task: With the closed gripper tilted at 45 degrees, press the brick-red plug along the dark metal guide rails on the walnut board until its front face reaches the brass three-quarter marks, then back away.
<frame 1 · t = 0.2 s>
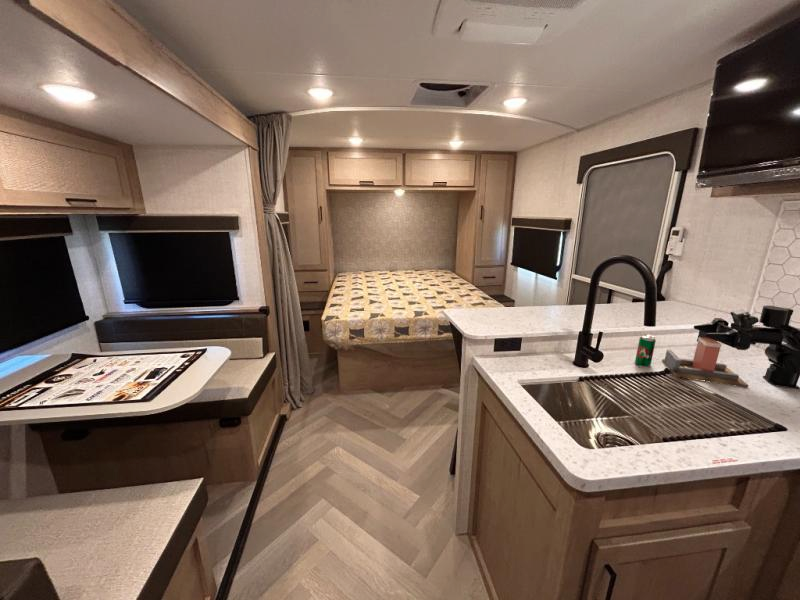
hand: (699, 330, 115), 16 cm above the worktop, tool horizontal, fingers open, 9 cm apart
red plug: (705, 355, 116), point 7 cm above the worktop, slide at 0.0 cm
guide rails: (700, 364, 117), on the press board, point 4 cm above the worktop
soda can: (642, 364, 126), on the worktop
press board: (701, 373, 118), on the worktop
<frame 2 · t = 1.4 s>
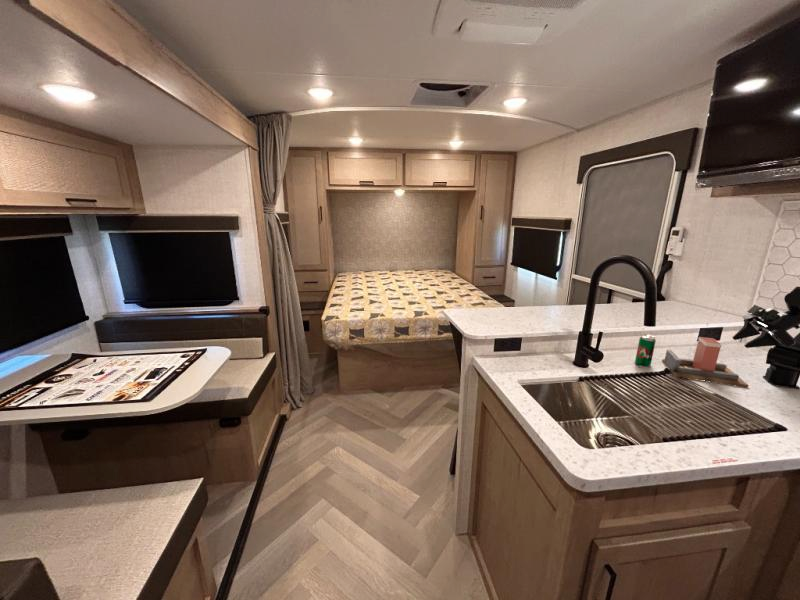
hand: (739, 342, 111), 14 cm above the worktop, tool tilted 45°, fingers open, 7 cm apart
nothing on the worktop moved.
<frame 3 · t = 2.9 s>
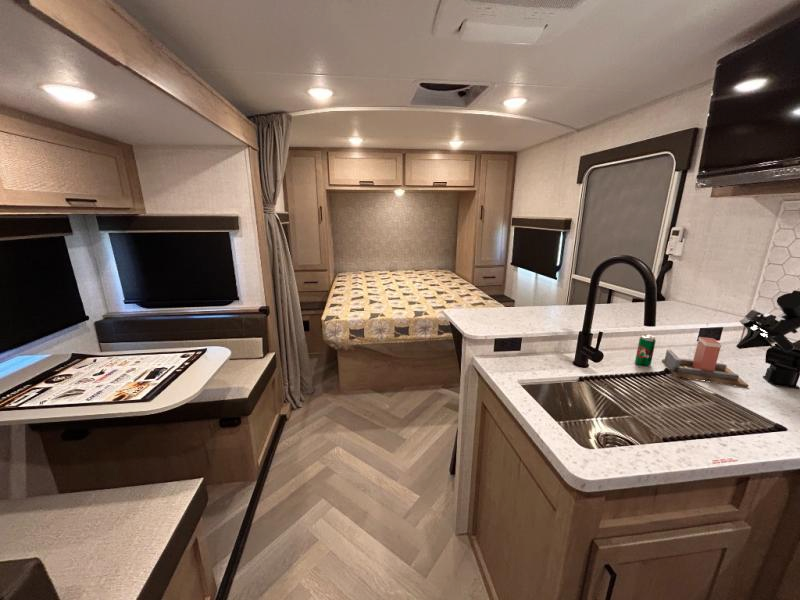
hand: (737, 347, 111), 12 cm above the worktop, tool tilted 45°, fingers closed
nothing on the worktop moved.
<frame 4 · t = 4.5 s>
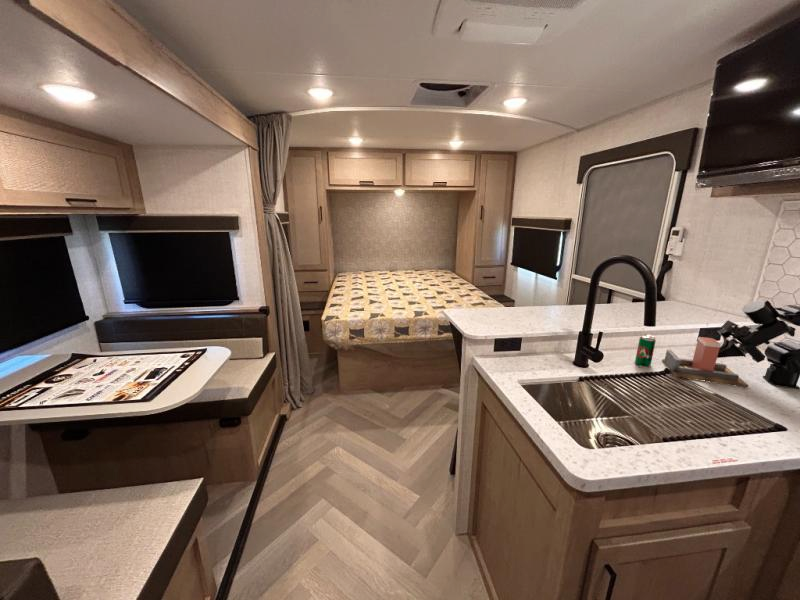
hand: (713, 356, 115), 7 cm above the worktop, tool tilted 45°, fingers closed, pressing on red plug
red plug: (705, 355, 116), point 7 cm above the worktop, slide at 0.2 cm, touching gripper
everything else where it was.
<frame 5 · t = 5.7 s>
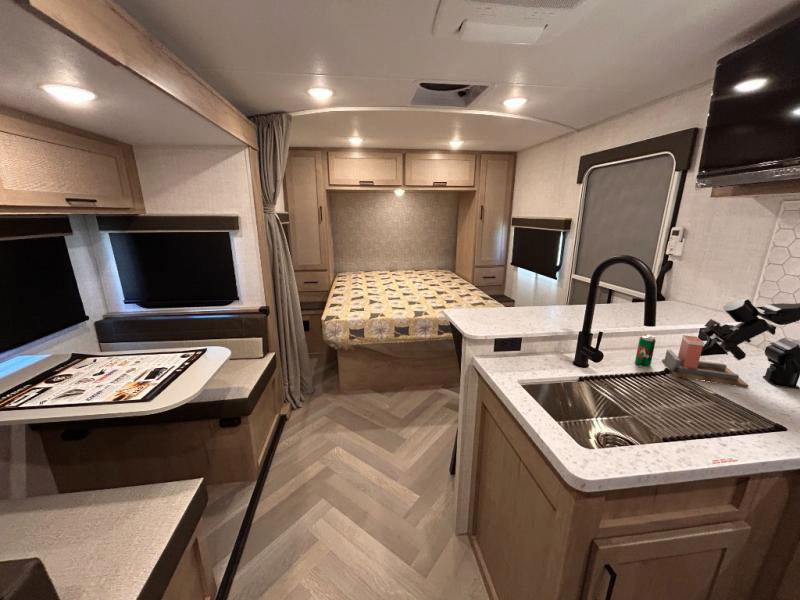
hand: (697, 354, 117), 7 cm above the worktop, tool tilted 45°, fingers closed, pressing on red plug
red plug: (689, 353, 118), point 7 cm above the worktop, slide at 4.8 cm, touching gripper
everything else where it was.
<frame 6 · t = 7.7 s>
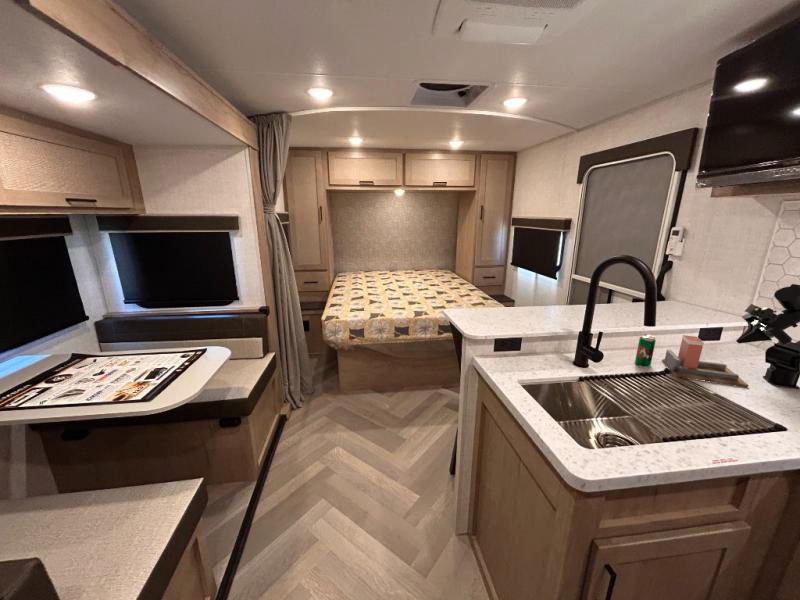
hand: (737, 342, 112), 14 cm above the worktop, tool tilted 45°, fingers closed
red plug: (689, 353, 118), point 7 cm above the worktop, slide at 4.8 cm
everything else where it was.
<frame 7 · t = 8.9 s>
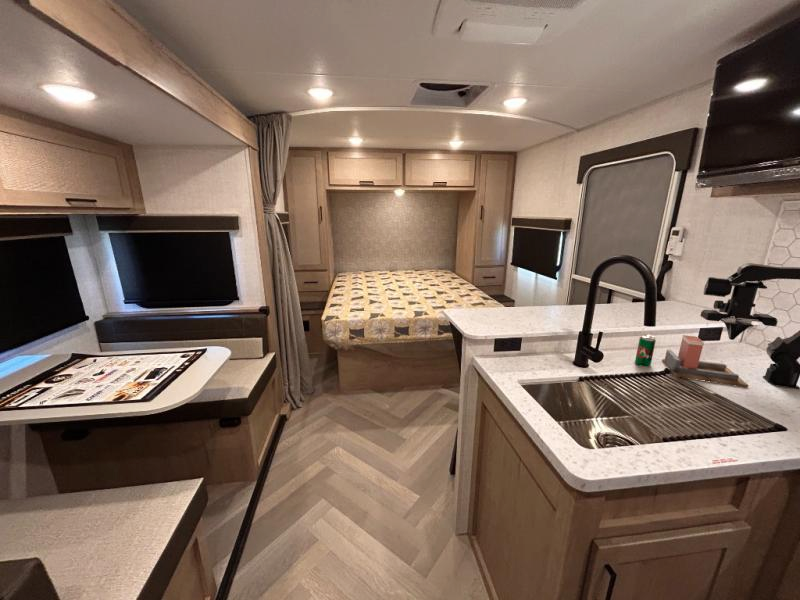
hand: (731, 339, 116), 13 cm above the worktop, tool pointing down, fingers closed
nothing on the worktop moved.
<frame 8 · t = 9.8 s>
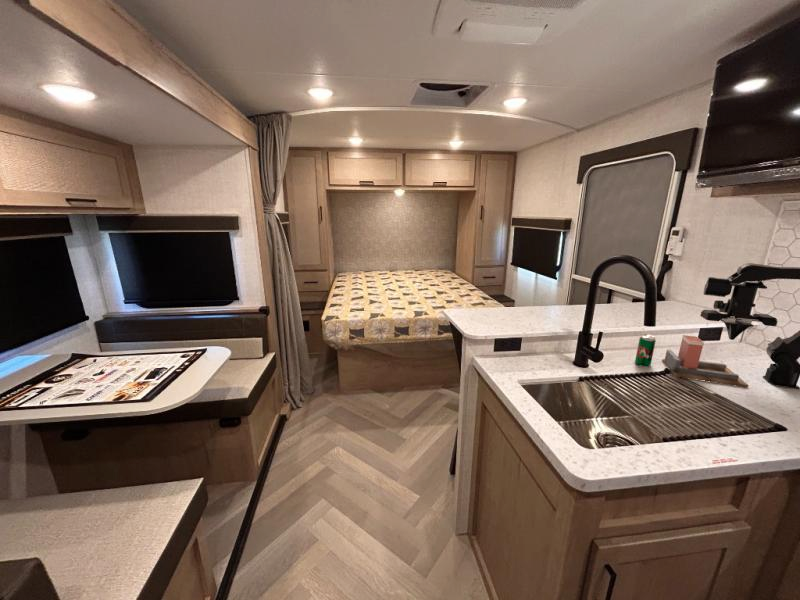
hand: (731, 339, 116), 13 cm above the worktop, tool pointing down, fingers closed
nothing on the worktop moved.
at the end: red plug slide at 4.8 cm; soda can moved 0.2 cm from its start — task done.
